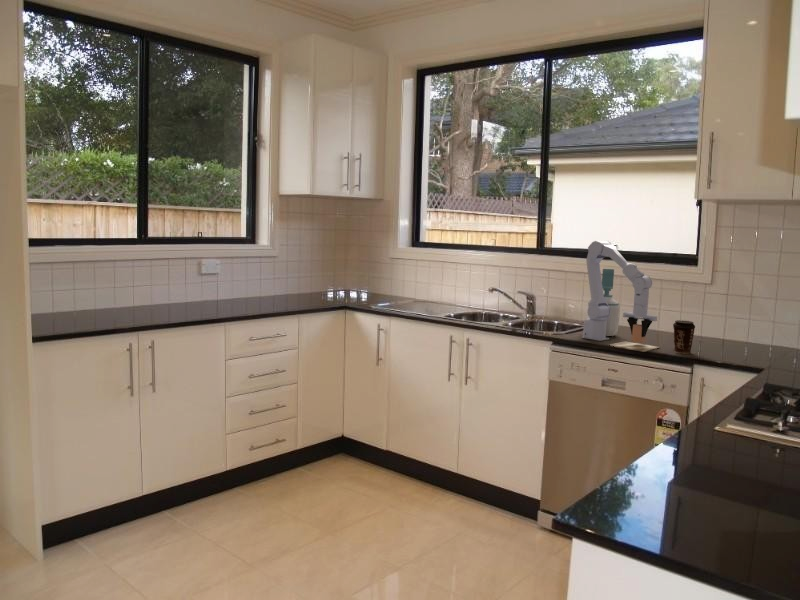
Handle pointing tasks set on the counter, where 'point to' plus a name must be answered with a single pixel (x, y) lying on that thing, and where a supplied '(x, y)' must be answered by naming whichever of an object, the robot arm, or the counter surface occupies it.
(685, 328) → the coffee cup
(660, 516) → the counter surface
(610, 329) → the soap bottle
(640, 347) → the board
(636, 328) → the block
